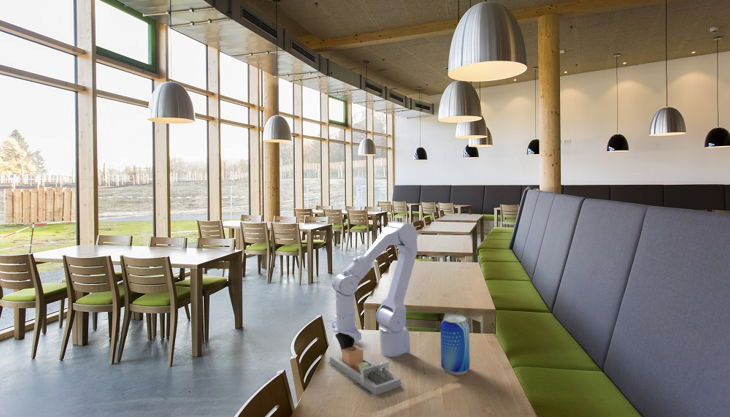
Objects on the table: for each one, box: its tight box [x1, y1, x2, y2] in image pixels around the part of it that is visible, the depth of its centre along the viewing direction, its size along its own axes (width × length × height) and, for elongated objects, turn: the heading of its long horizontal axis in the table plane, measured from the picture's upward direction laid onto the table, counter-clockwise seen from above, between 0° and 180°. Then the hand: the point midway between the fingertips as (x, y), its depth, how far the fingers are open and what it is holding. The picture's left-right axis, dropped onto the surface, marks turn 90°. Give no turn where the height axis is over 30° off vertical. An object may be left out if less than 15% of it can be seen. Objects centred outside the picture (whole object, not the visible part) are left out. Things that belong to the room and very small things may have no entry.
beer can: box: [440, 314, 471, 376], centre depth 131 cm, size 8×8×16 cm
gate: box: [360, 360, 390, 387], centre depth 123 cm, size 9×1×6 cm, turn 123°
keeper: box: [341, 345, 364, 373], centre depth 132 cm, size 5×6×6 cm
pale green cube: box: [359, 362, 370, 376], centre depth 128 cm, size 3×3×3 cm
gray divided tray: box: [329, 355, 405, 398], centre depth 129 cm, size 11×26×3 cm, turn 33°
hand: (346, 356), depth 136 cm, fingers closed
